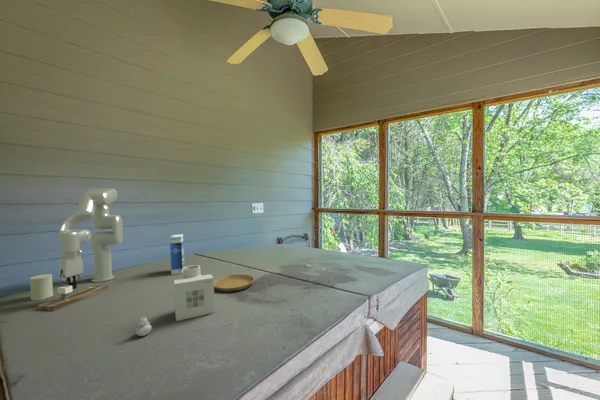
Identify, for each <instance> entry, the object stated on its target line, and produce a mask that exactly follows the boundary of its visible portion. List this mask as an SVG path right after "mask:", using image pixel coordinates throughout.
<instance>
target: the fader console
mask: <svg viewBox="0 0 600 400" xmlns="http://www.w3.org/2000/svg"><path fill="white" fill-rule="evenodd" d="M108 290H109V285H97V284H96V285H95V284H94V285H91V286H88V287H86V288H83V289H80V290H78V291H75V292H74V291H73V292H70V297H69V298H67V299H61V296H59V297H57V298H55V299H51V300H49V301H46V302H44V303H41V304H37V305H36V310H38V311H47V312H48V311H49V312H55V311H57V310H60V309H61V308H65V307H67V306H70V305H73V304H74V303H76V302H80V301H82V300H85V299H87V298H89V297H92V296H94V295H98V294H100V293H103V292H104V291H108Z"/></svg>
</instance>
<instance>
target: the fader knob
mask: <svg viewBox="0 0 600 400" xmlns="http://www.w3.org/2000/svg"><path fill="white" fill-rule="evenodd" d="M73 292H74V289H73V288H72V286H69V284H68V285H65V284H64V285H61V286H59V287H57V294H58V295H59V294H60V297H61V299H67V298H69V297H70V294H71V293H73Z"/></svg>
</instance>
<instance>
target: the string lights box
mask: <svg viewBox="0 0 600 400" xmlns="http://www.w3.org/2000/svg"><path fill="white" fill-rule="evenodd" d="M169 242H170V243H169V245H170V249H169V250H170V267H171V268H170V269H171V270H170V271H171V272H170V273H171V275H181V274H183V268H184V267H186V265H185V248H184V247H185V246H184V234H183V233H181V234H172V235H171V236H170V237H169Z"/></svg>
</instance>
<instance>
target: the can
mask: <svg viewBox="0 0 600 400" xmlns="http://www.w3.org/2000/svg"><path fill="white" fill-rule="evenodd" d="M29 284H30V285H29V286H30V300H31V301H40V300H41V301H42V300H44V299H48V298H51V297H53V296H54V291H53V290H54V289H53V274H52V273H46V274H45V273H43V274H40V275H35V276H34V275H33V276H31V277H30V278H29Z"/></svg>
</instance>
